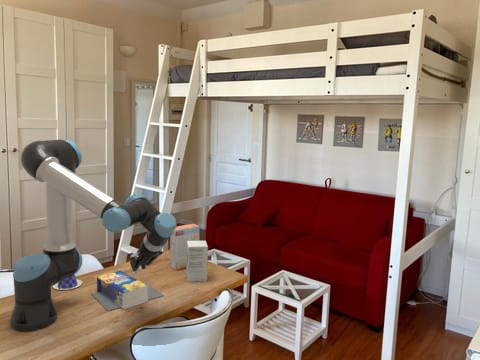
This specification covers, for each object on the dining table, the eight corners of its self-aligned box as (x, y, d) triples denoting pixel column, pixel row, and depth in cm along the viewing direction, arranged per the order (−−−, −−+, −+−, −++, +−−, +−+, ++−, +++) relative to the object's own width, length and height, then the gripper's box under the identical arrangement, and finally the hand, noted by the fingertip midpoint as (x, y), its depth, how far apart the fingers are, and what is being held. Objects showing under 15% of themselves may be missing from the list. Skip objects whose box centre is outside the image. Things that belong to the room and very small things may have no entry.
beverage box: (147, 285, 165) (120, 270, 180) (123, 293, 157) (96, 276, 172) (147, 301, 166) (120, 285, 181) (123, 309, 158) (97, 291, 173)
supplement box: (186, 274, 196) (186, 240, 193) (205, 273, 197) (205, 239, 195) (187, 282, 186) (187, 246, 184) (207, 281, 188) (208, 246, 186)
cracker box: (193, 261, 213) (193, 222, 210) (199, 265, 208) (200, 225, 205) (169, 267, 204) (169, 226, 201) (175, 271, 199) (176, 229, 196)
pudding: (72, 292, 172) (72, 280, 172) (46, 290, 174) (46, 278, 173) (87, 281, 184) (87, 270, 183) (62, 279, 186) (62, 268, 185)
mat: (107, 311, 156) (107, 310, 156) (91, 294, 170) (91, 293, 170) (164, 296, 171) (164, 295, 171) (145, 282, 185) (145, 281, 185)
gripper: (139, 255, 143) (121, 285, 158) (172, 249, 151) (152, 277, 166) (133, 237, 146) (115, 267, 161) (165, 232, 154) (146, 261, 169)
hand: (134, 272), depth 164 cm, fingers closed
